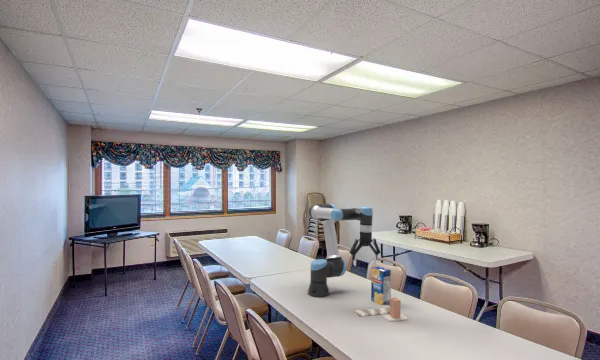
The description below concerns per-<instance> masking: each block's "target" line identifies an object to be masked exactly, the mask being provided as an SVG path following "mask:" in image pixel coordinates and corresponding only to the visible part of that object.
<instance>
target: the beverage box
mask: <svg viewBox="0 0 600 360" xmlns="http://www.w3.org/2000/svg"><path fill="white" fill-rule="evenodd" d="M391 281H392V271H391V269H390V268H389V269H388V268H387V267H383V266H379V265H378V266H374V267H371V282H370V284H371V286H370V287H371V288H370V289H371V290H370V291H371V294H370V295H371V298H370V299H371V301H372V302H374V303H376V304H379V305H380V306H388V305H390V298H392V297H391V296H392V294H391V291H392V289H391V288H392V287H391V286H392V284H391V283H392V282H391Z"/></svg>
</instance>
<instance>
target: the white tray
mask: <svg viewBox="0 0 600 360" xmlns="http://www.w3.org/2000/svg"><path fill="white" fill-rule="evenodd" d="M353 312H354V313H355V314H356V315H357V316H358V317H360V318H361V317H370V316H382V315H387V314H390V307H381V308H370V309H369V308H368V309H356V310H353Z"/></svg>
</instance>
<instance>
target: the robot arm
mask: <svg viewBox="0 0 600 360" xmlns="http://www.w3.org/2000/svg"><path fill="white" fill-rule="evenodd" d="M373 213H374V212H373V208H372V207H371V206H361V207H360V208H357V207H351V208H337V207H336V205H335V204H332V203H316V204H312V205H311V206H310V207H308V210H307V214H308V216H309V218H310V219H312V220H320V223H321V224H322V226H323V233H324V234H323V235H324V239H325V247H326V254H327V257H326V258H325V259H324V258H321V259H320V258H319V259H318V258H317V259H314V260H312V261H311V263H310V267H309V268H310V283H309V286H308V289H307V294H308V295H309V296H311V297H315V298H324V297H327V296H329V295H330V288H329V286H328V279H329V278H339V277H342V276H344V275H345V273H346V271H347V263H346V262H345V259H343V257H342V256H341V255H340V252H339V245H338V238H337V233H336V227H335V222H340V221H341V222H342V221H359V239H357V238H355V239H354V243H353V244H352V247H350V251H349V255H351V256H352V257H351V258H352V259H351V260H352V261H353V266H355V267H356V266H357V255H356V254H357V253H358V252H359V251H360V249H362V248H363V247H369V248H370V249H371V251H372V252H373V254H372V255H373V256H372V265H375V266H377V260H378V255H379V254H381V253H382V252H381V249H380V248H379V245H378V242H377V239H376V238H374V237H373V232H372V231H373ZM372 244H373V245H372Z"/></svg>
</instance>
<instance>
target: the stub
mask: <svg viewBox="0 0 600 360" xmlns="http://www.w3.org/2000/svg"><path fill="white" fill-rule="evenodd" d="M401 305H402V304H401V299H399V298H397V297H391V298H390V304H389V308H390V314H385V315H381V316H382V317H383V318H384V319H385V320H387V322H398V321H408V320H409V318H408V317H406V316H405V315H404V314H403V313H401Z"/></svg>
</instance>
